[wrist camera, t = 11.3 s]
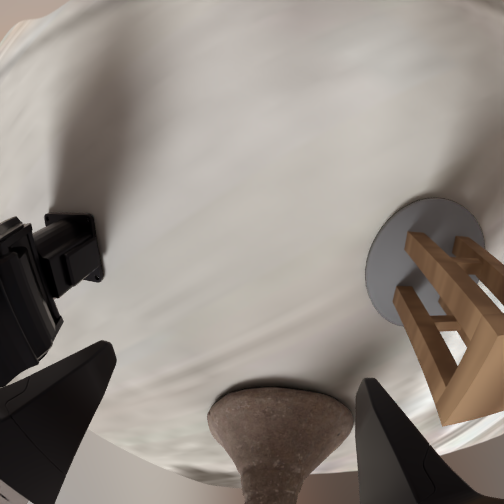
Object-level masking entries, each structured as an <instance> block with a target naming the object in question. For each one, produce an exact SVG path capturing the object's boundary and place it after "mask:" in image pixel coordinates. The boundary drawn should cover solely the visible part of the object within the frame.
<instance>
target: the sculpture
mask: <svg viewBox="0 0 504 504" xmlns="http://www.w3.org/2000/svg"><path fill="white" fill-rule="evenodd" d="M207 420H208V425H209V429H210V431H211V433H212V435H213V437H214V438H215V439H216V440H217V442H218V443H219V444H220V445H222V446H223V447H224V449H225V450H226V451H227V453H228V454H229V456H230V457H231V459H232V460H233V462H234V463H235V465H236V467H237V470H238V472H239V473H240V475H241V484H242V491H243V496H244V498H245V504H296V502H297V497H298V494H299V492H300V490H301V487H302V484H303V482H304V480H305V479H306V478H307V476H308V475H309V474H310V473H311V472H312V471H313V470H314V469H315V468H316V467H317V466H319V465H320V464H321V463H322V462H323V461H324V460H325V459H326V458H327V457H328V456H329V455H330V454H331V453H332V452H333V451H334V450H336V449H337V448H338V447H339V446H340V445H341V444H342V443H343V441H344V440H345V439H346V438H347V437H348V435H349V434H350V432H351V430H352V427H353V417H352V414H351V411H350V410H349V409H348V408H347V407H346V406H345V405H343V404H342V403H340V402H339V401H338V400H337V399H335V398H332V397H331V396H329V395H325V394H323V393H317V392H312V391H304V390H298V389H289V388H281V387H262V388H250V389H243V390H240V391H237V392H231V393H229V394H227V395H226V396H224V397H223V398H222V399H220V400H219V401H218V402H216V403H215V404H214V405H213V406H212V407H211V409H210V411H209V412H208V415H207Z"/></svg>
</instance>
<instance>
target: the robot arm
mask: <svg viewBox="0 0 504 504" xmlns="http://www.w3.org/2000/svg"><path fill="white" fill-rule="evenodd" d="M87 218H88V219H89V221H88V219H87ZM44 219H45V225H46V227H44V228H42V229H40V230H39V231H37V232H35V233H33V234H32V226H31V223H28V224H22V222H21V221H20V220H19V219H18V218H17V216H16V217H12V218H10V219H8V220H5V221H3V222H1V223H0V387H3V388H0V504H27V503H28V501H30V502H32V503H34V504H55V501H56V499H57V496H58V494H59V491H60V489H61V487H62V484H63V482H64V479H65V477H66V474H67V472H68V470H69V467H70V465H71V463H72V461H73V458H74V456H75V454H76V452H77V450H78V448H79V445H80V443H81V441H82V439H83V437H84V434H85V432H86V430H87V428H88V426H89V424H90V422H91V420H92V418H93V416H94V414H95V412H96V410H97V408H98V406H99V404H100V402H101V400H102V398H103V396H104V394H105V391H106V389H107V386H108V383H109V381H110V378H111V375H112V373H113V370H114V368H115V365H116V361H117V359H116V355H115V352H114V349H113V346H112V344H111V343H110V342H107V341H104V340H101V341H98V342H96V343H94V344H92V345H90V346H88V347H86V348H84V349H82V350H80V351H78V352H76V353H74V354H72V355H70V356H68V357H66V358H64V359H62V360H60V361H58V362H56V363H54V364H52V365H50V366H48V367H46V368H44V369H42V370H40V371H38V372H36V373H34V374H32V375H31V376H28V377H26V378H24V379H22V380H20V381H17V382H15V383H13V384H10V385H8V386H6V385H7V384H8V383H9V382H10V381H11V380H12V379H13V378H14V377H16V376H17V375H18V374H19V373H21V372H23V371H24V370H26V369H28V368H30V367H33V366H36V365H38V364H39V361H40V360H41V359H42V358H43V357H44V356H45V355H46V354H47V352H48V351H49V349H50V348H51V347H52V344H53V341H54V339H55V337H56V335H57V333H58V331H59V329H60V327H61V326H62V324H63V322H64V321H63V319H62V317H61V315H60V314H59V312H58V309H57V307H56V304H55V302H54V299H55V298H60V297H61V296H62V295H63V294H64V293H66V292H67V291H68V290H69V289H70V288H72V287H74V286H76V285H77V284H78V283H79V282H81V281H82V280H87V281H93V282H101V281H102V280H103V273H102V268H101V262H100V257H99V251H98V245H97V239H96V232H95V225H94V218H93V216H92V215H91V214H86V213H47V214H45V217H44ZM98 277H99V278H98ZM4 386H5V387H4ZM355 439H356V451H357V463H358V477H359V494H360V504H504V499H500V498H494V497H488V496H484V495H481V494H480V493H477V492H476V491H475V490H473V489H472V488H471V487H470V486H469V485H468V484H467V483H466V482H465V481H464V480H463V479H462V478H461V477H459V476H458V475H457V474H456V473H455V472H454V471H453V470H452V469H451V468H450V467H449V466H448V465H447V464H446V463H445V462H444V461H443V459H442V458H441V457H440V456H439V455H438V454H437V452H436V451H435V450H434V449H433V447H432V446H431V445H429V443H428V441H427V440H426V439H425V438H424V437H423V435H422V434H421V433H420V432H419V430H418V429H417V428H416V427H415V426H414V424H413V423H412V422H411V421H410V419H409V418H408V417H407V416H406V415H405V413H404V412H403V411H402V410H401V409H400V407H399V406H398V405H397V404H396V403H395V401H394V400H393V399H392V398H391V397H390V395H389V394H388V393H387V392H386V390H385V389H384V388H383V387H382V386H381V384H380V383H379V382H378V381H377V380H376V379H375V378H364V379H363V380H362V382H361V384H360V387H359V389H358V391H357V394H356V424H355Z"/></svg>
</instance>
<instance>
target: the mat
mask: <svg viewBox="0 0 504 504" xmlns="http://www.w3.org/2000/svg"><path fill="white" fill-rule="evenodd" d="M407 231H410V232H422V233H425V234H426V235H427V236H428V237H429V238H430V239H431V240H433V241H434V242H435V243H436V244H437V245H438V246H439V247H440V248H441V249H442V250H443V251H444V252H445V253H446V254H447V255H449V256H450V257H456V256H455V255H454V254H452V250H453V246H454V241H455V236H463V237H469V238H471V239H472V240H473V241H475V242H476V243H477V244H479V245H480V246H481V247H482V248H484V249H485V243H484V238H483V234H482V231H481V228H480V226H479V224H478V222H477V220H476V219H475V218H474V216H473V215H472V214H471V213H470V212H469V211H468V210H467V209H466V208H464V207H463V206H461V205H459V204H457V203H455V202H453V201H451V200H447V199H444V198H427V199H422V200H419V201H416V202H413V203H411V204H409V205H407V206H405V207H403V208H402V209H401V210H399V211H398V212H396V213H395V214H394V215H393V216H392V217H391V218H390V219H389V220H388V221H387V222H386V223H385V224H384V225H383V227H382V228H381V230H380V231H379V232H378V234H377V235H376V237H375V239H374V241H373V243H372V245H371V248H370V251H369V254H368V257H367V261H366V268H365V280H366V287H367V291H368V294H369V297H370V299H371V301H372V304H373V306H374V307H375V309H376V310H377V311H378V312H379V314H380V315H381V316H382V317H384V318H385V319H386V320H388V321H389V322H391V323H393V324H396V325H398V326H403V327H404V325H403V323H402V321H401V319H400V317H399V315H398V312H397V310H396V308H395V306H394V304H393V302H392V301H393V297H394V293H395V289H396V286H412V287H413V289H414V291H415V292H416V294H417V295H418V297H419V298H420V300H421V302H422V303H423V305H424V307H425V308H426V310H427V312H428V313H429V315H430V316H438V315H446V313H445V312H444V310H443V309H442V307H441V306H440V304H439V303H438V300H439V297H440V295H439V294H438V292H437V291H436V290H435V288H434V287H433V286H432V284H431V283H430V282H429V280H428V279H427V278H426V276H425V275H424V274H423V273H422V271H421V270H420V269H419V267H418V266H417V265H416V264H415V262H414V261H413V260H412V259H411V257H410V256H409V255H408V254H407V252H406V251H405V250H404V248H405V242H406V237H407ZM469 276H470V277H471V279H472V280H473V281H474V282H475V283H476V284H477V283H478V281H479V279H478V278H477V277H476V276H475V275H469Z"/></svg>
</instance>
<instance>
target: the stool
mask: <svg viewBox="0 0 504 504" xmlns="http://www.w3.org/2000/svg"><path fill="white" fill-rule="evenodd" d="M404 250H405V251H406V252H407V254H408V255H409V256H410V257H411V259H412V260H413V261H414V262H415V264H416V265H417V266H418V267H419V269H420V270H421V271H422V273H423V274H424V275H425V276H426V278H427V279H428V280H429V282H430V283H431V284H432V286H433V287H434V288H435V290H436V291H437V292H438V294H439V295H440V297H439V300H438V303H439V304H440V306H441V307H442V309H443V310H444V312H445V313H446V315H438V316H430V315H429V313H428V312H427V310H426V308H425V307H424V305H423V303H422V302H421V300H420V298H419V297H418V295H417V294H416V292H415V291H414V289H413V287H412V286H396V289H395V293H394V297H393V301H392V302H393V304H394V306H395V308H396V310H397V312H398V315H399V317H400V319H401V321H402V323H403V325H404V328H405V330H406V332H407V334H408V337H409V339H410V341H411V344H412V346H413V348H414V351H415V353H416V356H417V358H418V360H419V363H420V365H421V368H422V370H423V373H424V376H425V378H426V381H427V383H428V386H429V389H430V392H431V394H432V397H433V400H434V403H435V406H436V409H437V412H438V414H439V418H440V421H441V424H442V426H447V425H452V424H457V423H461V422H465V421H469V420H473V419H477V418H481V417H484V416H488V415H491V414H494V413H498V412H501V411H504V313H502V312H501V311H500V309H499V308H498V307H497V306H496V305H495V304H494V302H493V301H492V300H491V299H490V298H489V297H488V296H487V295H486V294H485V292H484V291H483V290H482V289H481V288H480V287H479V286H478V285H477V284H476V283H475V282H474V281H473V280H472V279H471V277H470V276H469V275H475V276H476V277H477V278H478V279H479V280H480V281H481V282H482V283H483V284H484V285H485V286H486V287H487V288H488V289H489V290H490V291H491V292H492V293H493V294H494V296H495V297H496V298H497V299H498V300H499V301H500V302H501V303H502V304H503V306H504V265H503V264H502V263H501V262H500V261H499V260H497V259H496V258H495V257H494V256H492V255H491V254H490V253H489V252H488V251H486V250H485V249H484V248H482V247H481V246H480V245H479V244H477V243H476V242H475V241H473V240H472V239H471V238H469V237H463V236H455V241H454V246H453V250H452V254H454V255H455V256H456V257H450V256H449V255H447V254H446V253H445V252H444V251H443V250H442V249H441V248H440V247H439V246H438V245H437V244H436V243H435V242H434V241H433V240H431V239H430V238H429V237H428V236H427V235H426V234H425V233H422V232H410V231H407V237H406V242H405V248H404ZM439 331H457V332H458V333H459V335H460V337H461V338H462V340H463V342H464V343H465V345H466V347H467V350H466V352H465V354H464V356H463V358H462V360H461V362H460V363H459V365H458V366H457V364H456V362H455V360H454V358H453V356H452V354H451V352H450V350H449V349H448V347H447V345H446V343H445V341H444V339H443V338H442V336H441V334H440V332H439Z"/></svg>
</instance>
